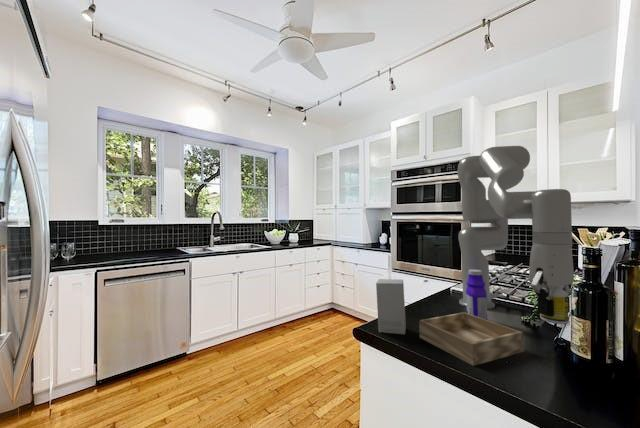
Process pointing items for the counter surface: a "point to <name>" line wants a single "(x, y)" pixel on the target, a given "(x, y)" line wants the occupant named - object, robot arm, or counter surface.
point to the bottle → (476, 295)
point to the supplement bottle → (558, 306)
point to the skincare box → (391, 306)
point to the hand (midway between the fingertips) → (553, 312)
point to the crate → (471, 337)
